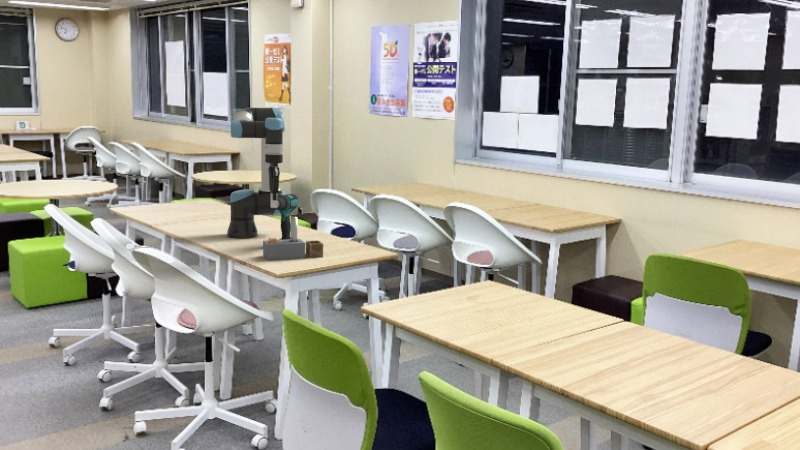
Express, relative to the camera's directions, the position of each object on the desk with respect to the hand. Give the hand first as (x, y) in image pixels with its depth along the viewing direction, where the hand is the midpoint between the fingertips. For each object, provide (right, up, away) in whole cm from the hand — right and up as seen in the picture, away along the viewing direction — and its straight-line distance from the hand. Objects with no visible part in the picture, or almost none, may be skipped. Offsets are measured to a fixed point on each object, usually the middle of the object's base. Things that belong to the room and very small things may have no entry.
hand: (273, 207), depth 316 cm
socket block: (+4, -22, +6) cm, 23 cm away
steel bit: (+8, -22, +7) cm, 24 cm away
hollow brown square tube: (+16, -22, +11) cm, 29 cm away
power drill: (0, -18, +27) cm, 33 cm away
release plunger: (-1, -22, +4) cm, 22 cm away
